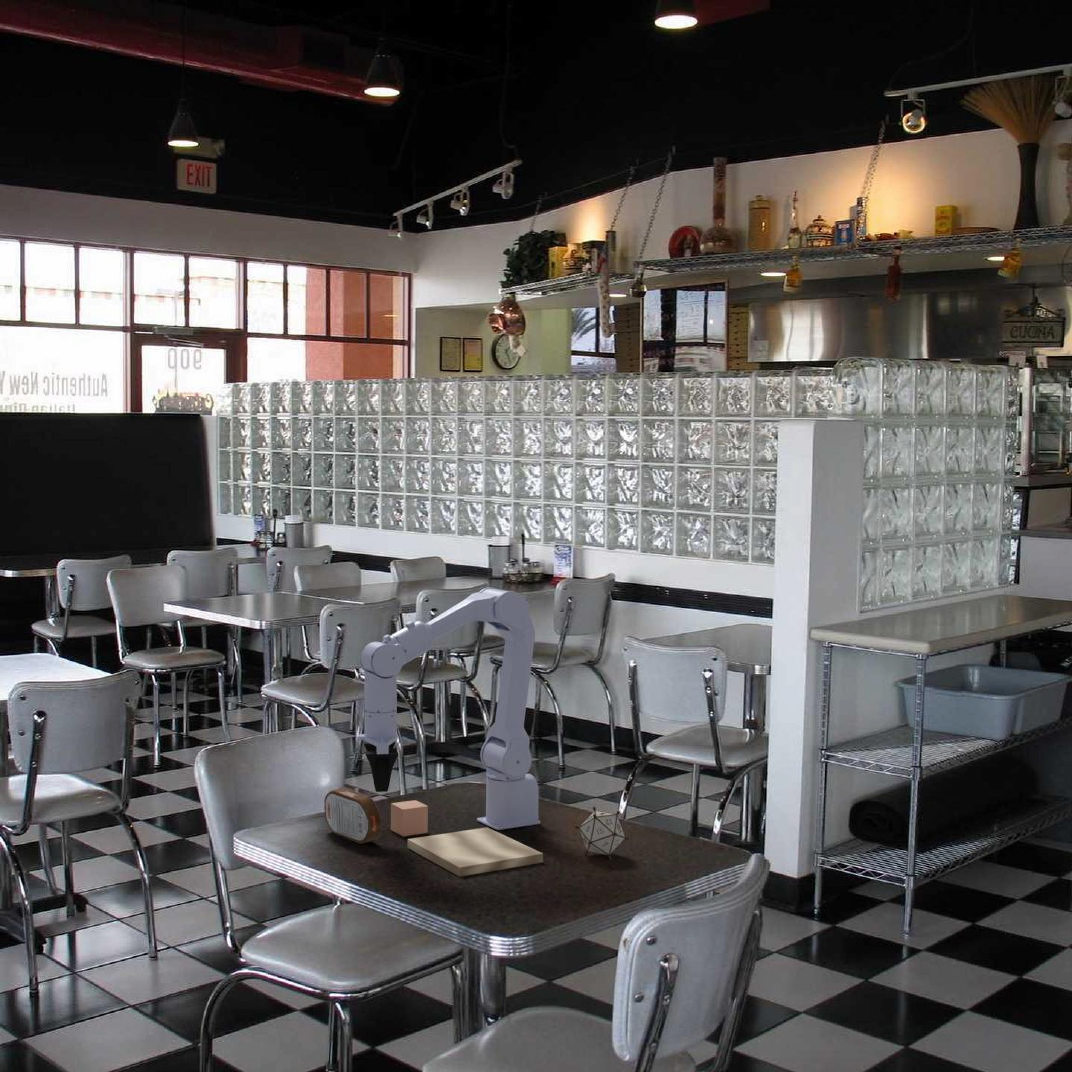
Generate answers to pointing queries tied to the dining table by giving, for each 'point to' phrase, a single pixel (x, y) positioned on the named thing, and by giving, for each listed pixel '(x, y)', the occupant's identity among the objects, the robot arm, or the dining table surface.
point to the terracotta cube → (409, 818)
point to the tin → (352, 815)
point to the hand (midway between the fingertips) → (380, 786)
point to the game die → (602, 832)
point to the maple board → (474, 851)
